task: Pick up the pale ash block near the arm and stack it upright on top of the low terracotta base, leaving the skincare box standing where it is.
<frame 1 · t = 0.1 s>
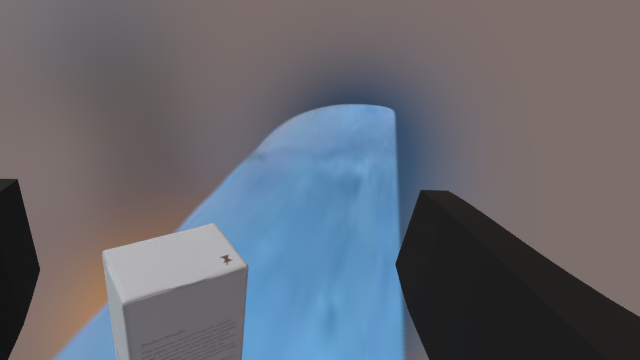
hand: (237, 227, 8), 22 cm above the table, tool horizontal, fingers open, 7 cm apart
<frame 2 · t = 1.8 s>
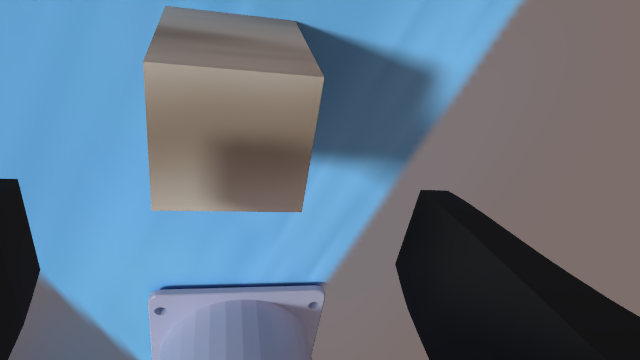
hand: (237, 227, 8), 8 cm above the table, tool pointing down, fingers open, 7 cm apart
ash block: (229, 74, 15), on the table
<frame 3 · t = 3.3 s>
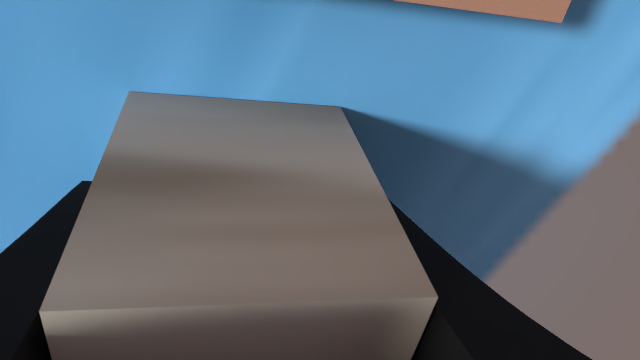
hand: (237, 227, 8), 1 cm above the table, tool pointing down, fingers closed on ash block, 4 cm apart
ash block: (234, 185, 10), on the table, touching gripper
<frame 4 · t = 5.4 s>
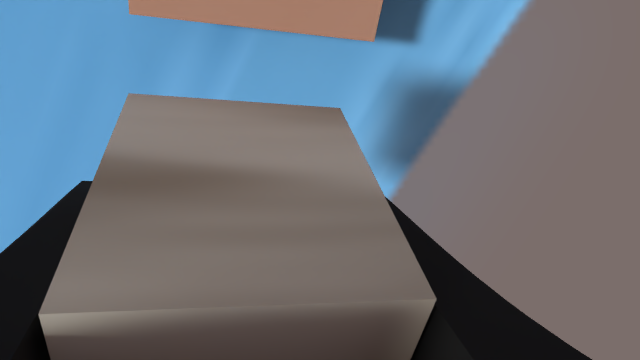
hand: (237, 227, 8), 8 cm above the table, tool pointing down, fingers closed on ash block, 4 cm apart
ash block: (234, 186, 10), point 7 cm above the table, touching gripper
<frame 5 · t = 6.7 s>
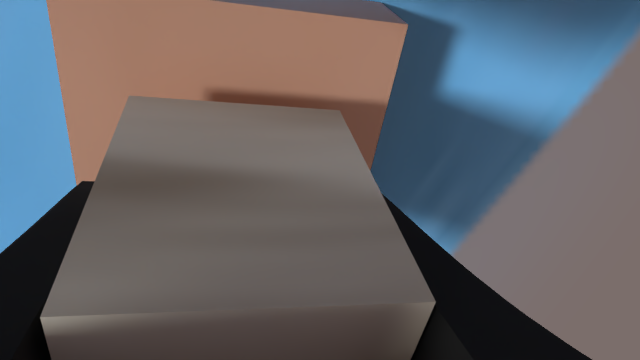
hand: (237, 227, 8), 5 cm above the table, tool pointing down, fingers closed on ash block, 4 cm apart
ash block: (234, 188, 10), point 3 cm above the table, touching gripper
terracotta base: (231, 119, 12), on the table
when the fingers open (4 cm above the table, at t = 7.6 s): ash block stays where it is, resting on terracotta base.
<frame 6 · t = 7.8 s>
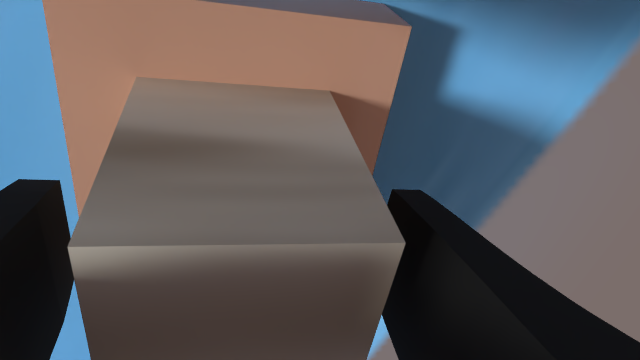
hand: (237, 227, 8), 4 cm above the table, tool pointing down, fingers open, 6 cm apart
ash block: (233, 164, 10), point 2 cm above the table, touching terracotta base
terracotta base: (231, 122, 12), on the table
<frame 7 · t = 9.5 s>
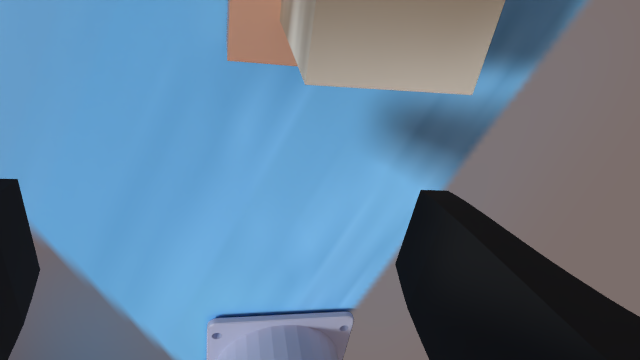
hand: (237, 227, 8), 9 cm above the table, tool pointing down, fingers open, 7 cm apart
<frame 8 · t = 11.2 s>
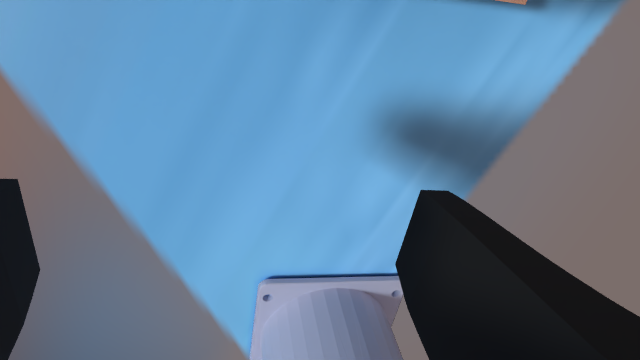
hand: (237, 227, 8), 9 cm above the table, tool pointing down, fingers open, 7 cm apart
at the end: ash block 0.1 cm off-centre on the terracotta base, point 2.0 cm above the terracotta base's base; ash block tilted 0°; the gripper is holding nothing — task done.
